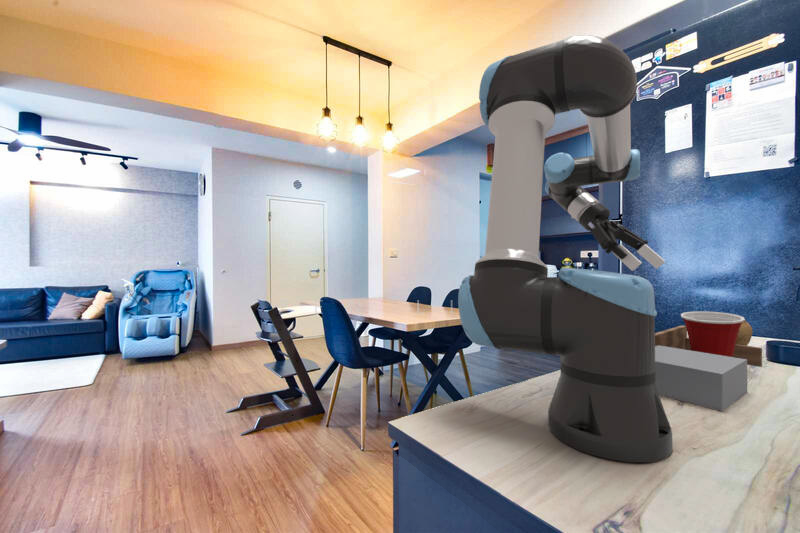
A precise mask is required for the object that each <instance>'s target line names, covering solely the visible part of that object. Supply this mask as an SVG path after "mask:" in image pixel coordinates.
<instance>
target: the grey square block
mask: <svg viewBox="0 0 800 533" xmlns="http://www.w3.org/2000/svg"><path fill="white" fill-rule="evenodd" d="M655 382H656V389H657V392H658V395H659V396H660V397H661V396H662V397H665V398H668V399H673V400H678V401H681V402H685V403H689V404H692V405H697V406H701V407H705V408H708V409H712V410H715V411H716V410H717V411H719V412H720V411H721V412H724V411H725V410H726V409H728V408H729V407H730V406H732V405H733V404H734V403H735V402H737V401H738V400H739V399H741V398H742V397H743V396H745V395H746V394H747V393H748V364H747V359H741V358H734V357H728V356H722V355H716V354H709V353H703V352H697V351H691V350H684V349H678V348H672V347H665V346H659V345H658V346H655Z"/></svg>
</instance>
